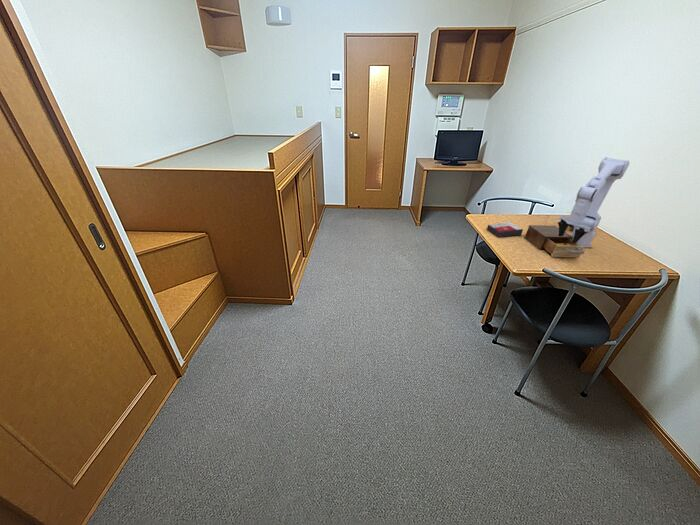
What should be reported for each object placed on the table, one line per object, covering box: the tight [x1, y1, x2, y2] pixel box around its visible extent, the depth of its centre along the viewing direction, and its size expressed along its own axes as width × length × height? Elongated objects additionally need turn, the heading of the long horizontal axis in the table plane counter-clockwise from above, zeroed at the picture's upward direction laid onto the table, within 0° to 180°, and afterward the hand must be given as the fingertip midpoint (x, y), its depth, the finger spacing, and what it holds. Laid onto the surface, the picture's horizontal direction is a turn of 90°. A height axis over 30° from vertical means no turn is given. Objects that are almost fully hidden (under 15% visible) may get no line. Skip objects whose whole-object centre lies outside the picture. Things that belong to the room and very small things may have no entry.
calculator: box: [486, 221, 524, 238], centre depth 167 cm, size 11×4×15 cm
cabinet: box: [524, 224, 573, 251], centre depth 155 cm, size 15×15×8 cm
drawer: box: [543, 238, 586, 258], centre depth 145 cm, size 18×13×6 cm
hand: (567, 239), depth 142 cm, fingers open, 7 cm apart
